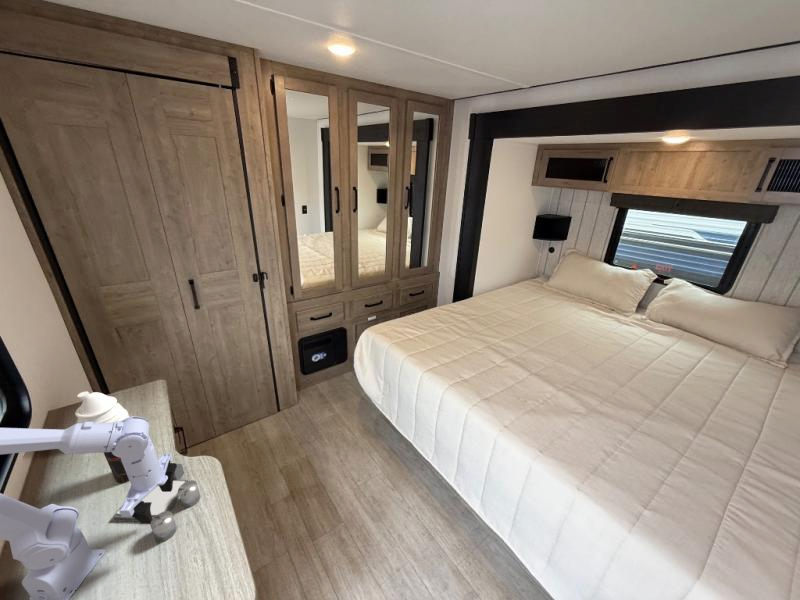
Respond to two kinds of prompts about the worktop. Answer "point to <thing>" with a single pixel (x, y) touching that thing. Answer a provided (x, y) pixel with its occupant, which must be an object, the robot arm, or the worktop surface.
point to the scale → (160, 497)
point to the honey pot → (99, 409)
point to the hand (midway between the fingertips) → (157, 505)
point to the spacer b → (189, 494)
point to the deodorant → (116, 467)
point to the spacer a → (163, 526)
